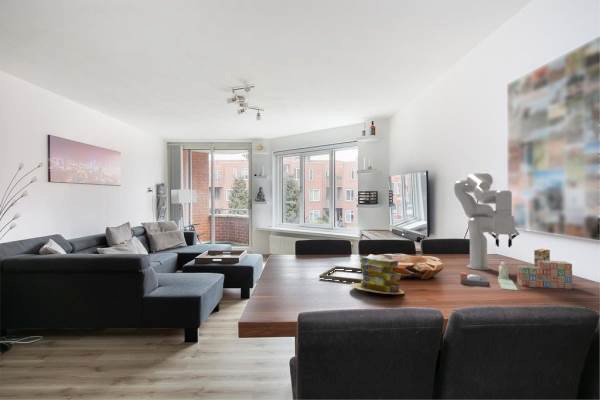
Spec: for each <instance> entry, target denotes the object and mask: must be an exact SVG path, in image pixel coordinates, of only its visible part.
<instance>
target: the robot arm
mask: <svg viewBox="0 0 600 400" xmlns="http://www.w3.org/2000/svg"><path fill="white" fill-rule="evenodd" d="M493 181H494V180H493V177H492V175H491V174H489V173H487V172H486V173H485V172H484V173H479V172H477V173H471V174H469V175H468V176H467V177H466V179H463V180H458V181H456V182H455V183H454V185H453V188H454V189H453V190H454V194H455V196H456V198H457V199H458V201H459V203H460V205H461V207H462V209H463V211H464V213H465V215H466V217H467V218H468V219H469V220H467V227H468V233H469V263H468V264H467V265H466V267H467V268H469V269H472V270H473V269H474V270H480V271H481V270H483V271H484V270H485V271H486V270H487V271H488V270H490V269H491V266H490V265H488V239H487V237H486V235H485V234H484V233H488V235H489V236H491V237H493V238H494V239H495V246H496V247H498V248H499V247H500V239H499V236H500V235H508V239H507V240H508V241H507V244H508V245H507V247H508V248H511V247H512V246H513V240H514V239H515V238H516V237H518V236H519V235H520V232H519V231H518V230H517V229H516V223H515V217H514V215H512V212H513V210H512V209H513V208H512V206H513V204H512V203H513V196H512V195H513V193H512V191H511V190H505V189H504V190H501V189H500V190H499V189H498V190H497V189H496V190H490V189H491V186H492V185H493V183H494V182H493ZM469 193H470V194H469ZM471 194H473V195H474V197H473V196H472V195H471ZM476 200H477V201H478V202H480V203H477V201H476ZM489 204H494V205H495V210H494V208H493V207H492V206H491V205H489Z"/></svg>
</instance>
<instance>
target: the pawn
mask: <svg viewBox="0 0 600 400" xmlns="http://www.w3.org/2000/svg"><path fill="white" fill-rule="evenodd" d="M499 264H500V265H498V277H497V278H498V279H499V278H500V279H510V276H509V266H508V265H507V262H505V261H502V262H500V263H499Z"/></svg>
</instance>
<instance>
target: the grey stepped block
mask: <svg viewBox="0 0 600 400" xmlns="http://www.w3.org/2000/svg"><path fill="white" fill-rule="evenodd" d="M468 275H469V274H468V273H467V272H463V271H462V272H460V284H461V285H468V286H470V285H471V286H477V287H478V286H479V287H488V286H489V285H488V284H489V282H488V278H487V276H484V275H483V276H482V275H478V276H479V277H481V280H472V279H467V276H468Z"/></svg>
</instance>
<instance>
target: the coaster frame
mask: <svg viewBox="0 0 600 400" xmlns="http://www.w3.org/2000/svg"><path fill="white" fill-rule="evenodd" d="M335 269H344V270H352V271H361V272H362V270H361V267H351V266H339V265H335V266H332V267H331V268H329V269H328V270H325V272H323V273H321V274H319V275H318V277H319V278H324V279H332V280H339V281H346V282H354V283H361V280H363V278H356V277H355V278H354V277H345V276H335V275H328V276H327V274H329V273H330V272H332V271H334V270H335Z"/></svg>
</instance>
